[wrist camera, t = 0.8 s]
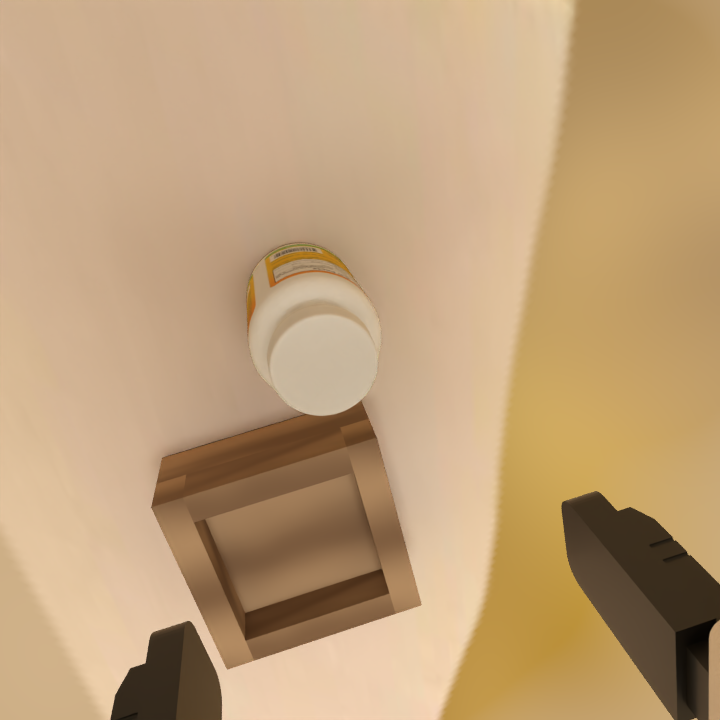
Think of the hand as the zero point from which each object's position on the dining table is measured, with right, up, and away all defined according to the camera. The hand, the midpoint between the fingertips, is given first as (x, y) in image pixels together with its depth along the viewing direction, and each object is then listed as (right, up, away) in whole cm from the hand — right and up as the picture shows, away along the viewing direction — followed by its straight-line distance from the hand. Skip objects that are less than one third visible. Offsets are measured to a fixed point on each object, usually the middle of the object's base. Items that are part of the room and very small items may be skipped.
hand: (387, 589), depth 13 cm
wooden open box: (-5, -4, +23) cm, 23 cm away
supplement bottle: (-4, +8, +18) cm, 20 cm away
